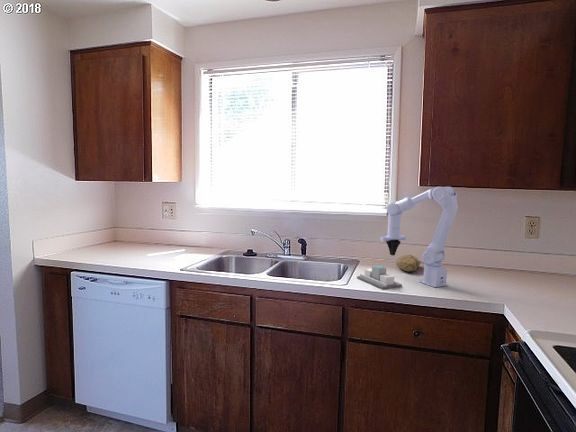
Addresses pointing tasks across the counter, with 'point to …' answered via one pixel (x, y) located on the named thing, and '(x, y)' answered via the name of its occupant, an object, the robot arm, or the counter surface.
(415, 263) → the sponge
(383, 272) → the module
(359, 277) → the rail board
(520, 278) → the counter surface
